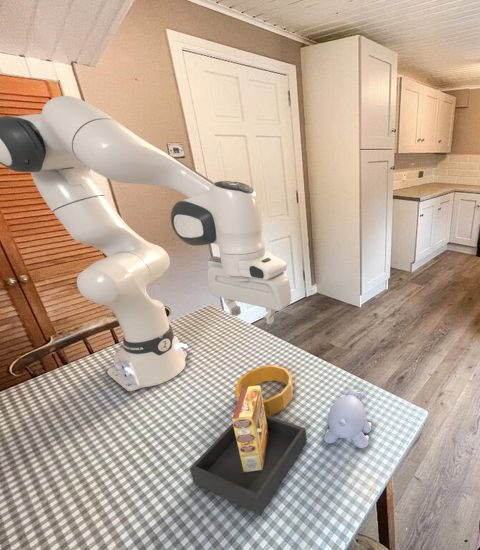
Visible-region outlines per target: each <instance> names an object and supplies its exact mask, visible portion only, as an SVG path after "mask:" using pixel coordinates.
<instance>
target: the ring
mask: <svg viewBox="0 0 480 550" xmlns="http://www.w3.org/2000/svg"><path fill="white" fill-rule="evenodd" d="M271 381H277V382H279V383H283V384H285V385H286V386H285V387H284V388H283V389H282V391H281V392H280V393H278V394H276V395H273V396H272V397H270V398H268V399H263V404H264V410H265V414H266V415H268V416H271V417H273V416H274V415H277V414H278V413H279V412H281V411H284V410H285V409H286V407H287V406H288V405H289V404H290V403H291V402H292V400H293V395H294V383H293V375H292V374H291V373H290V371H289V370H288V369H287V368H286V367H283V366H279V365H277V364H276V365H275V364H273V365H272V364H271V365H262V366H259V367H256V368H254V369H252V370H249V371H247V372H245V374H243V375H242V376H241V377H240V378H239V379H237V381H236V385H235V387H234V396H235V401H236V403H237V402H238V399H239V396H240V393H241V390H242V387H249V386H258V385H259V384H261V383H263V382H271Z"/></svg>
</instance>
